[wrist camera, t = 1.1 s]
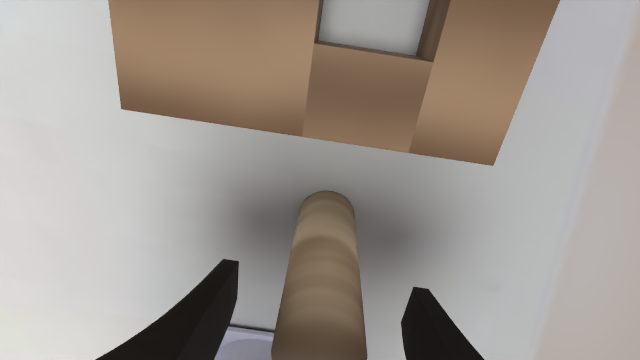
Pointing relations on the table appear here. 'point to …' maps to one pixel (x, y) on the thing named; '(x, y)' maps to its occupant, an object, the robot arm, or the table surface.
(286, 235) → the table surface
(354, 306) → the beech peg
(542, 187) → the table surface
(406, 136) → the walnut socket board
